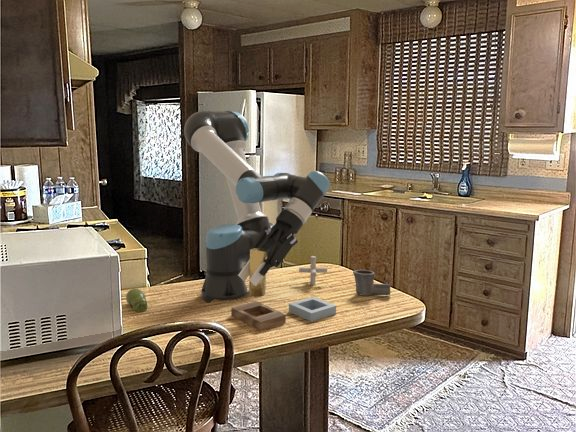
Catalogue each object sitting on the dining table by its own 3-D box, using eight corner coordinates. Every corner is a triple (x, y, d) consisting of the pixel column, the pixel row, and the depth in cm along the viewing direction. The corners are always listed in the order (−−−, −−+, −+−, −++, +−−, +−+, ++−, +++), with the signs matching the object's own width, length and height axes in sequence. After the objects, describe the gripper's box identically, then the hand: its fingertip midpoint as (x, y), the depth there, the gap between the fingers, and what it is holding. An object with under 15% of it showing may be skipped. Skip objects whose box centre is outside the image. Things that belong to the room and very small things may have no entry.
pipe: (389, 299, 179) (391, 276, 177) (351, 296, 181) (352, 273, 180) (390, 293, 185) (391, 270, 183) (352, 290, 187) (353, 268, 185)
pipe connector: (327, 288, 188) (328, 260, 187) (298, 288, 189) (299, 260, 187) (325, 279, 198) (326, 253, 196) (298, 279, 198) (299, 252, 197)
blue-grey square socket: (288, 316, 162) (288, 303, 162) (313, 308, 169) (313, 296, 168) (311, 326, 155) (311, 313, 154) (335, 318, 161) (336, 305, 160)
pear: (141, 284, 172) (151, 298, 164) (140, 299, 174) (151, 314, 166) (123, 287, 169) (133, 301, 161) (123, 302, 171) (133, 317, 163)
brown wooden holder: (231, 320, 158) (231, 307, 158) (255, 313, 164) (255, 301, 163) (260, 335, 148) (260, 322, 147) (285, 327, 154) (285, 314, 153)
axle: (246, 295, 153) (247, 251, 151) (254, 290, 158) (254, 247, 155) (260, 297, 152) (261, 253, 149) (268, 293, 156) (269, 249, 153)
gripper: (267, 203, 163) (221, 265, 156) (307, 214, 149) (258, 282, 142) (280, 218, 167) (236, 279, 160) (320, 230, 154) (273, 296, 147)
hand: (246, 280), depth 151 cm, fingers closed on axle, 5 cm apart
